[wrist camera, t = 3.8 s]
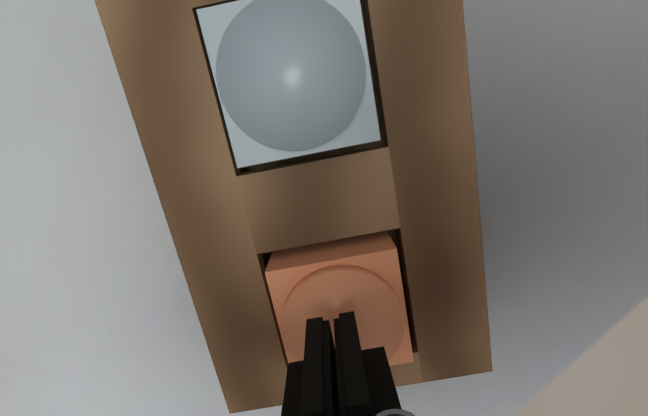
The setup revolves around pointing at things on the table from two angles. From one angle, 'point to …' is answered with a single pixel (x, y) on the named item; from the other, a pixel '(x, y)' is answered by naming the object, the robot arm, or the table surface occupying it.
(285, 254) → the terracotta button
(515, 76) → the table surface
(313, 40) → the slate blue button
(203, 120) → the button panel
